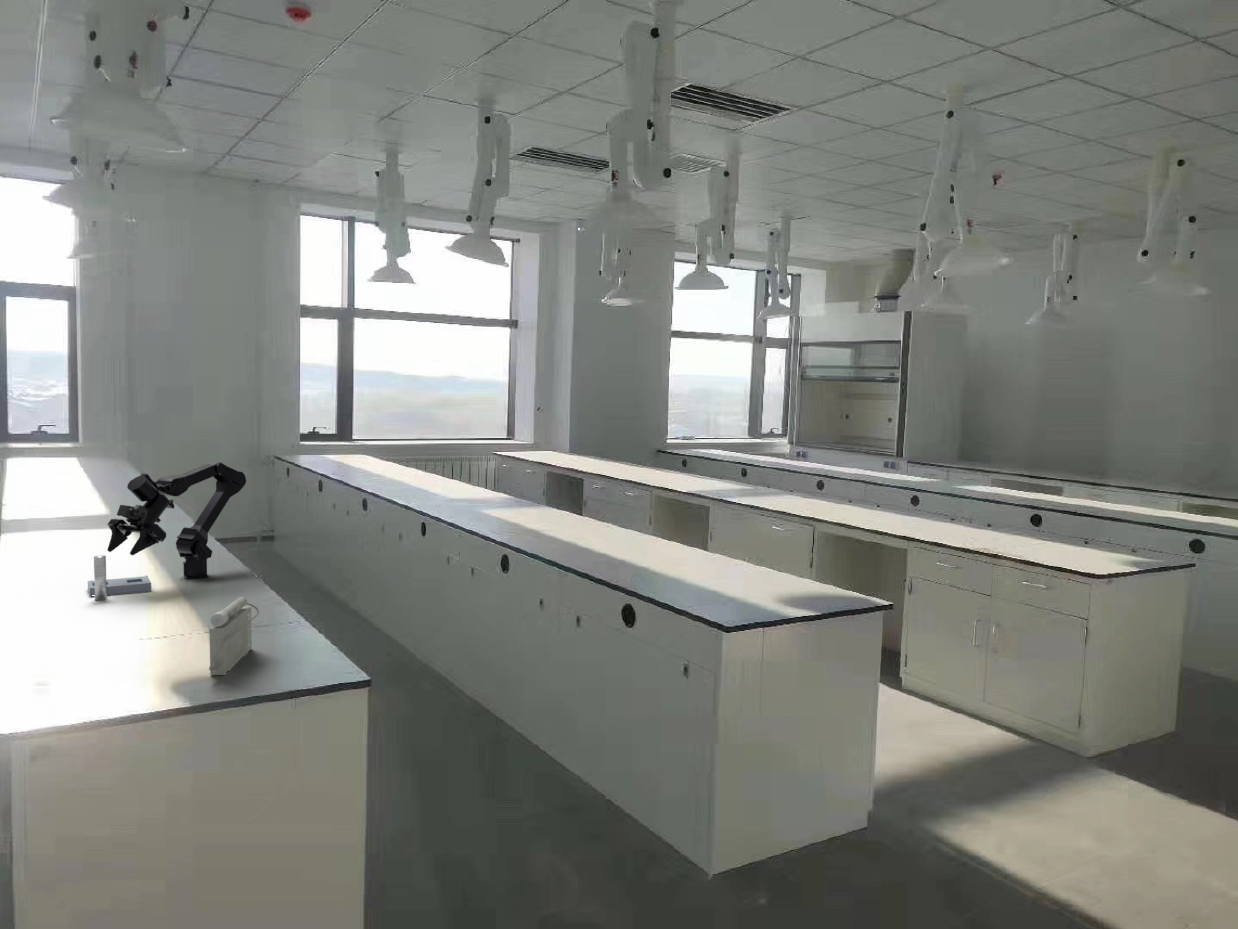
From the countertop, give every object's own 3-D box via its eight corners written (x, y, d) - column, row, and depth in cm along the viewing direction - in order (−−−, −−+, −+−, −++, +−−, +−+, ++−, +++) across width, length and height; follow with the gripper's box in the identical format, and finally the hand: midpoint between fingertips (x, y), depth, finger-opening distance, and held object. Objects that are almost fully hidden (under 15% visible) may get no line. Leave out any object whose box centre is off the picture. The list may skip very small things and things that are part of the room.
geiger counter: (234, 593, 220) (194, 621, 195) (261, 593, 220) (225, 621, 196) (235, 649, 221) (196, 684, 197) (261, 649, 222) (226, 684, 197)
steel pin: (106, 597, 264) (105, 555, 263) (107, 599, 262) (106, 557, 261) (94, 598, 263) (93, 555, 262) (95, 600, 260) (94, 557, 259)
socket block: (147, 584, 281) (147, 576, 281) (151, 591, 273) (151, 582, 273) (87, 589, 273) (87, 581, 272) (90, 596, 264) (89, 588, 264)
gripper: (112, 492, 274) (79, 533, 265) (157, 497, 267) (124, 539, 258) (135, 514, 282) (104, 555, 273) (180, 520, 275) (149, 562, 266)
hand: (119, 552), depth 267 cm, fingers open, 9 cm apart
